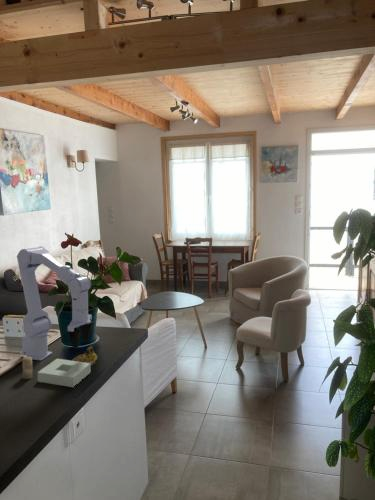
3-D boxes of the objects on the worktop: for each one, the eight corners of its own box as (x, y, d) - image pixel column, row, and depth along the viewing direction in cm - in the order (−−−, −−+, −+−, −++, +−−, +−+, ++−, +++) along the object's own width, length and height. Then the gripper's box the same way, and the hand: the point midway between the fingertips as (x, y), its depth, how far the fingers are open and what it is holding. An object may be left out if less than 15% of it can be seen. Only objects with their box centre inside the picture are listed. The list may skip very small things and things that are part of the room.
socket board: (37, 381, 140) (37, 372, 139) (57, 367, 151) (57, 358, 151) (73, 387, 136) (73, 377, 136) (90, 372, 148) (90, 363, 147)
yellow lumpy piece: (88, 374, 150) (102, 357, 164) (89, 362, 149) (103, 346, 163) (64, 369, 151) (80, 353, 165) (65, 357, 150) (82, 342, 164)
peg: (21, 378, 142) (20, 359, 141) (26, 374, 145) (26, 356, 144) (29, 379, 141) (28, 360, 140) (34, 375, 144) (34, 357, 143)
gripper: (80, 315, 140) (80, 352, 142) (98, 304, 154) (99, 338, 156) (62, 313, 141) (62, 349, 143) (82, 302, 155) (82, 335, 157)
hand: (80, 343), depth 150 cm, fingers open, 7 cm apart
